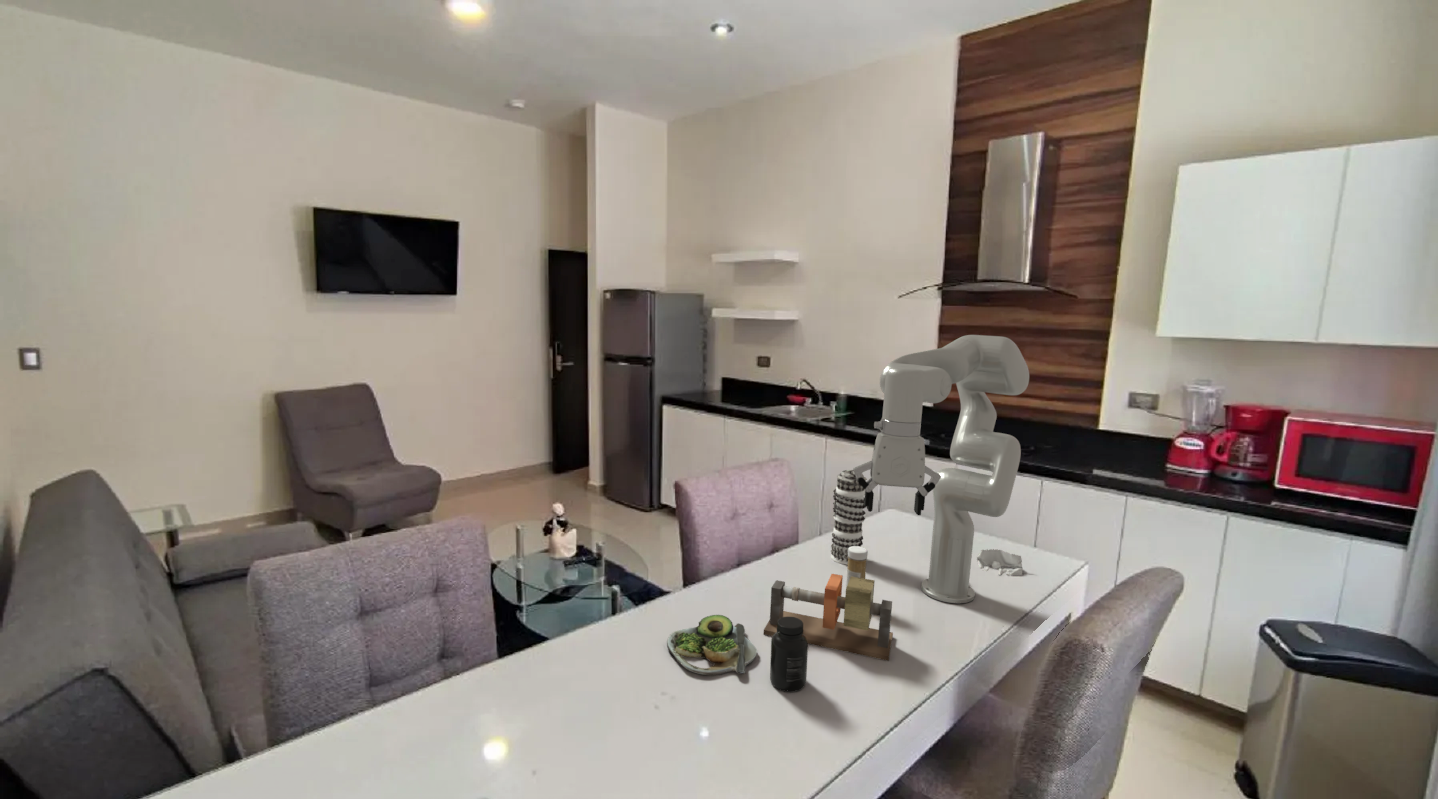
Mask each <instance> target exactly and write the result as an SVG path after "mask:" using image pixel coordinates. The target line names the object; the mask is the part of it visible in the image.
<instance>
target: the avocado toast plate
mask: <svg viewBox="0 0 1438 799" xmlns="http://www.w3.org/2000/svg"><path fill="white" fill-rule="evenodd" d="M745 632H746V629H745V626H744V625H743V624H742V623H736V624H735V625H734V624H733V622H732V620H731V619H730V618H729V617H727V616H725V615H722V614H711V615H708V616H705V617H703V618H702V619H701V620H700V621H698V626H694V627H688V628H682V629H678V630H675V631H673V632H671V633H670V634H669V636H668V638H667V640H666V646H667V649H668V652H669V653H670V654H671V655H672V656H673V657H674V658H675V659H676V661H677V662H678V663H679V664H680V665H681V666H682V667H684V669H686V670H688V671H689V672H692V673H694V674H698V675H702V676H718V675H719V676H720V675H723V674H727V673H732V672H736V673H737V674H739V675H740V674H741V675H742V674H743V675H744V674H746V667H747V665H749V664H750V663H752V662H753V661H754V660H755V658H756V656H757V655H758V650H757V647H756V646H755V645H754V643H753V642H751V640H749V638H747V637H746V635H745ZM684 657H686V658H703V659H705V660H708V661H709V663H710V664H713V665H712V666H709V667H707V668H705V667H699V666H696V665H693V664H691V663H689V661H687V660H686V659H685V658H684Z"/></svg>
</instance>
